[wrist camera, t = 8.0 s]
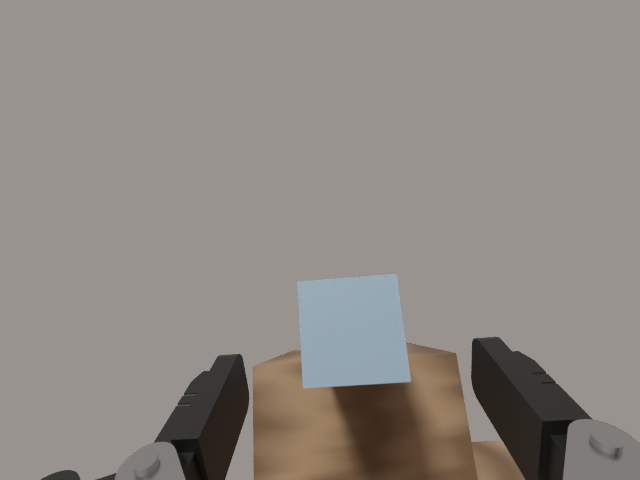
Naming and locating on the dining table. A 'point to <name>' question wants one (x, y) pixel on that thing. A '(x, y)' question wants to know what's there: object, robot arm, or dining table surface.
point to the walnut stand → (370, 426)
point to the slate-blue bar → (352, 332)
